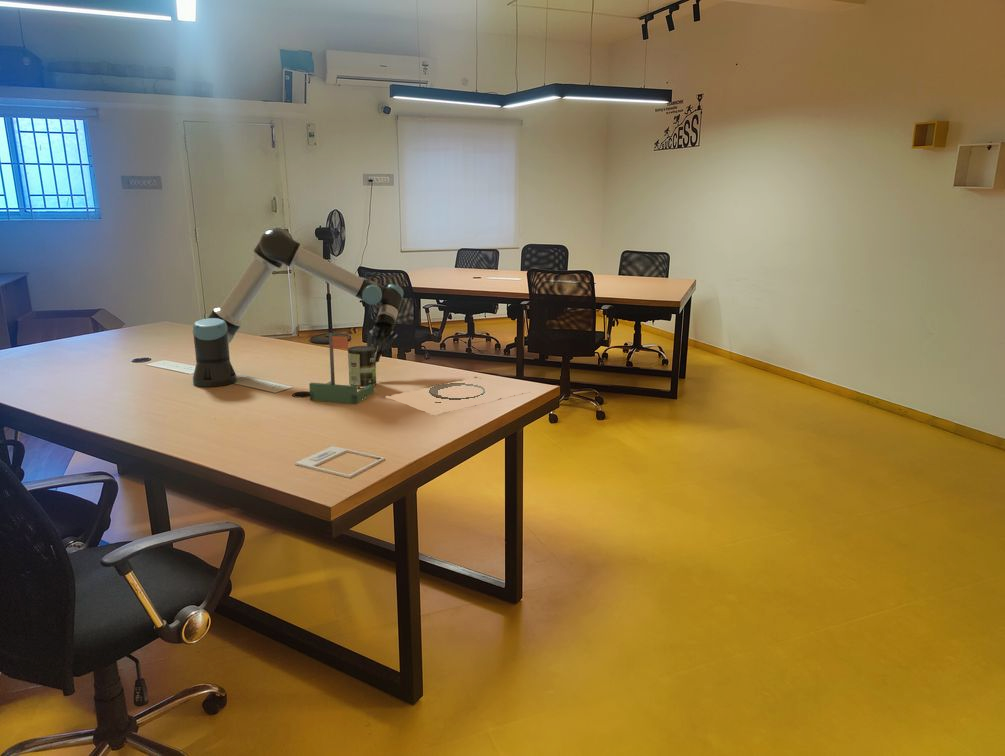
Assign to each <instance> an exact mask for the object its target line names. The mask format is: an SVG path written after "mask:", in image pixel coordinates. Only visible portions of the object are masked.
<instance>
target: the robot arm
mask: <svg viewBox="0 0 1005 756" xmlns="http://www.w3.org/2000/svg"><path fill="white" fill-rule="evenodd" d="M252 253H253V258H252V260H251V261H250V262H249V264H248V265H247V267H246V269H244V271H243V273H242V274H241V275H240V277H239V279H238V280H237V282H236V283H235V284H234V286H233V288H232V289H231V290H230V292H229V294H228V295H227V297H226V298H225V299H224V301H223V302H222V304H221V305H220V306H219V307H215V308H213V310H212V311H211V312H210V314H209V315H208V317H207V318H203V319H200V320H196V321H195V322H194V323H193V325H192V335H193V343H194V351H195V352H194V353H195V361H196V362H195V369H194V372H193V376H192V383H193V386H197V387H203V388H211V387H221V386H222V387H223V386H228V385H231V384H234V383H235V381H236V382H237V373H236V372H235V370H234V367H233V365H232V363H231V357H230V344H229V343H231V341H233V339H234V338H235V335H236V334H237V332H238V330H239V329H240V328H241V326H242V322H241V319H242V317H243V316H244V315H245V313H246V312H247V310H248V309H249V307H250V306H251V304H252V303H253V301H254V300H255V299H256V298H257V295H258V294H259V293H260V291H261V289H262V288H263V287H264V285H265V284H266V282H267V280H268V279H269V278H270V276H271V275H272V273H273V272H274V271H275V270H279V269H281V267H282V266H283V265H284V266H287V267H288V268H293V267H295V268H297V269H299V270H301V271H303V272H305V273H307V274H309V275H311V276H314V277H315V278H318V279H320V280H322V281H323V282H325V283H328V284H329V285H332V286H334V287H336V288H337V289H340V290H342V291H343V292H346V293H348V294H350V295H352V296H354V297H356V298H358V299H359V300H362V301H363V302H364V303H366V304H368V305H371V306H373V305H377V304H379V305H380V307H379V310H378V313H377V316H376V320H375V322H374V323H375V324H374V326H373V328H372V329H371V330H365V332H366V336H367V339H366V346H371V347H374V348H376V350H375V359H376V363H378V362H380V359H381V356H382V355H387V354H388V351H389V350H390V348H391V346H392V344H393V343H394V341H395V340H396V339H397V338H398V337H399V336H398V334H397V332H396V331H394V328H395V324H396V321H397V318H398V314H399V311H400V308H401V304H402V302H403V298H404V290H403V288H402V287H401V286H400V285H398V284H392V283H391V284H388V285H387V286H385V285H382V284H379V283H377V282H375V281H373V280H371V279H369V278H366V277H363V276H358V275H356V274H355V273H352V272H350V271H349V270H346V269H345V268H343V267H342V266H340V265H337V264H335V263H333V262H331V261H329V260H327V259H325V258H323V257H321V256H319V255H317V254H316V253H314V252H311V251H309V250H307V249H306V248H303V245H302V243H300V242H298V241H296V240H294V238H293V236H292V235H291V233H290V232H288V230H286V229H284V228H281V227H273V228H270V229H268V230H266V231H265V232H264V233H263V234H262V235H261V237H260V240H259V241H258V243H257V245H256V246H255V247H254V249H253V251H252ZM373 336H374V339H373Z"/></svg>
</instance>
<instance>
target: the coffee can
mask: <svg viewBox="0 0 1005 756" xmlns="http://www.w3.org/2000/svg"><path fill="white" fill-rule="evenodd" d="M346 350H347V359H348V361H347V362H348V380H349V381H348V385H350V386H357V387H366V386H368V385H370V384H373V385H375V384H376V385H377V371H376V370H377V366H376V365H377V362H376V359H375V350H376V348H374V347H371V346H367V345H357V346H356V345H355V346H351V347H348V349H346ZM376 385H375V386H376Z"/></svg>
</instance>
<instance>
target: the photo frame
mask: <svg viewBox="0 0 1005 756" xmlns="http://www.w3.org/2000/svg"><path fill="white" fill-rule="evenodd" d="M345 453H350V454H354V455H360V456H364V457H367V456H368V457H367V458H372V457H374V458H373V459H376V458H379V459H377V460H375V461H373V462H372V463H369V464H367V465H366V466H365V465H364V467H362V468H359V469H357V470H355V471H354V472H352V473H350V474H347V473H343V472H339V471H335V470H331V469H328V468H322V467H318V466H319V465H322V464H324V463H325V462H327V461H331V460H332V459H334V458H336V457H339V456H340V455H343V454H345ZM384 459H385V460H386V457H383V456H378V455H374V454H371V453H366V452H361V451H357V450H353V449H348V448H343V447H340V446H339V447H338V446H335V445H332V446H329V447H327V448H325V449H323V450H320V451H319V452H316V453H314V454H312V455H309V456H307V457H305V458H303V459H300V460H298V461H296V462H294V466H295V465H296V466H299V467H303V468H308V469H311V470H314V471H315V470H316V471H320V472H323V473H327V474H331V475H335V476H338V477H339V476H340V477H344V478H347V479H351V478H352V477H354V476H356V475H358V474H360V473H362V472H364V471H366V470H369V469H370V468H371V466H372V467H374V466H376V465H377V463H378V462H379V463H381V462H383V461H385V460H384ZM382 460H383V461H382ZM380 461H381V462H380ZM379 463H378V464H379ZM375 464H376V465H375ZM373 465H374V466H373Z"/></svg>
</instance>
